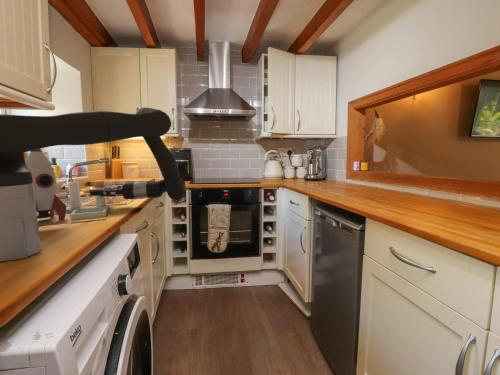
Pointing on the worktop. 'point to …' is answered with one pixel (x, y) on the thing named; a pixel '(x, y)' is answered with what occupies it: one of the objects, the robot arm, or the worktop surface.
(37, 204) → the toy
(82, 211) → the tray
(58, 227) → the worktop surface
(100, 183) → the cylinder
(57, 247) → the worktop surface
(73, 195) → the cylinder
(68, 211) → the holder
